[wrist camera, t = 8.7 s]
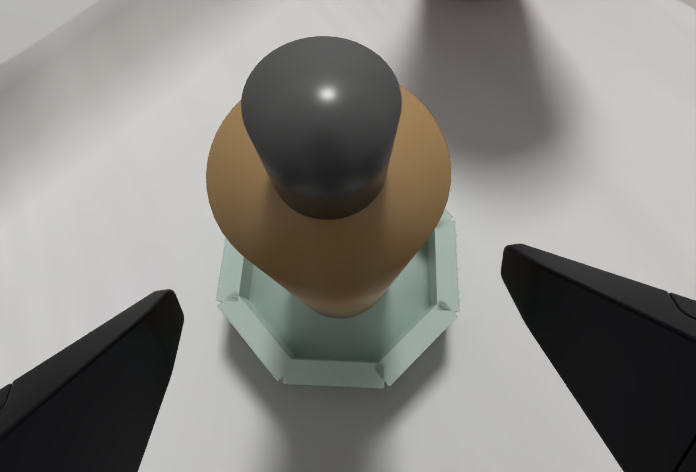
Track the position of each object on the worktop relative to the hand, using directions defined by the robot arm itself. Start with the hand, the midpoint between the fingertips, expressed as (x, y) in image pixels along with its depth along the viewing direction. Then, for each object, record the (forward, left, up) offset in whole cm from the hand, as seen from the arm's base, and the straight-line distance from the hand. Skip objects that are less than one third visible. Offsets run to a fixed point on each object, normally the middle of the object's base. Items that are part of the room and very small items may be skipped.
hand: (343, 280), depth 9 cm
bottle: (+2, 0, -8) cm, 8 cm away
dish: (+2, 0, -9) cm, 9 cm away
